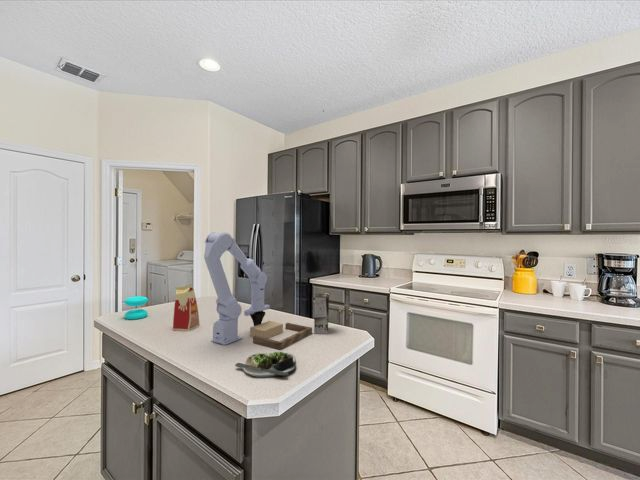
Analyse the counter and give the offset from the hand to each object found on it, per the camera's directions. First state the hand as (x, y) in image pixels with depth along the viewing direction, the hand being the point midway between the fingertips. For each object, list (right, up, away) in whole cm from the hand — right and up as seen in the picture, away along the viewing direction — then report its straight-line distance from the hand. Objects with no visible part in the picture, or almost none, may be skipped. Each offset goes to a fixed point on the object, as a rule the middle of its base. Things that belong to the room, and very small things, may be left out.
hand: (257, 328), depth 133 cm
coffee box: (+29, -2, +3) cm, 29 cm away
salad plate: (+12, -3, -35) cm, 37 cm away
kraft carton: (+5, -2, -3) cm, 6 cm away
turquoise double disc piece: (-65, 0, +19) cm, 68 cm away
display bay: (+12, -2, -7) cm, 14 cm away
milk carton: (-34, -1, +3) cm, 34 cm away
